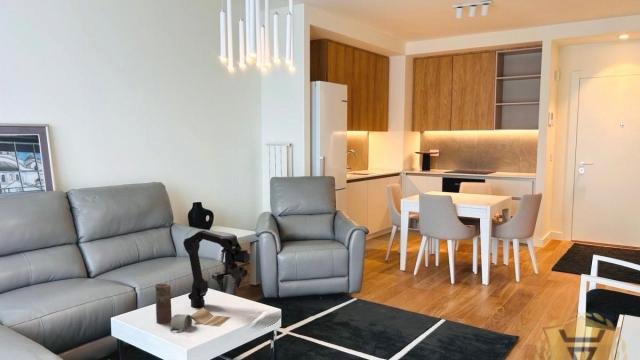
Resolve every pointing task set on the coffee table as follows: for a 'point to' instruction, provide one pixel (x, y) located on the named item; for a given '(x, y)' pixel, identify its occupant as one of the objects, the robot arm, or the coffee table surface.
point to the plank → (201, 316)
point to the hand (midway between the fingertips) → (229, 289)
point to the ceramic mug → (180, 322)
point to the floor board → (217, 321)
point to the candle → (163, 303)
